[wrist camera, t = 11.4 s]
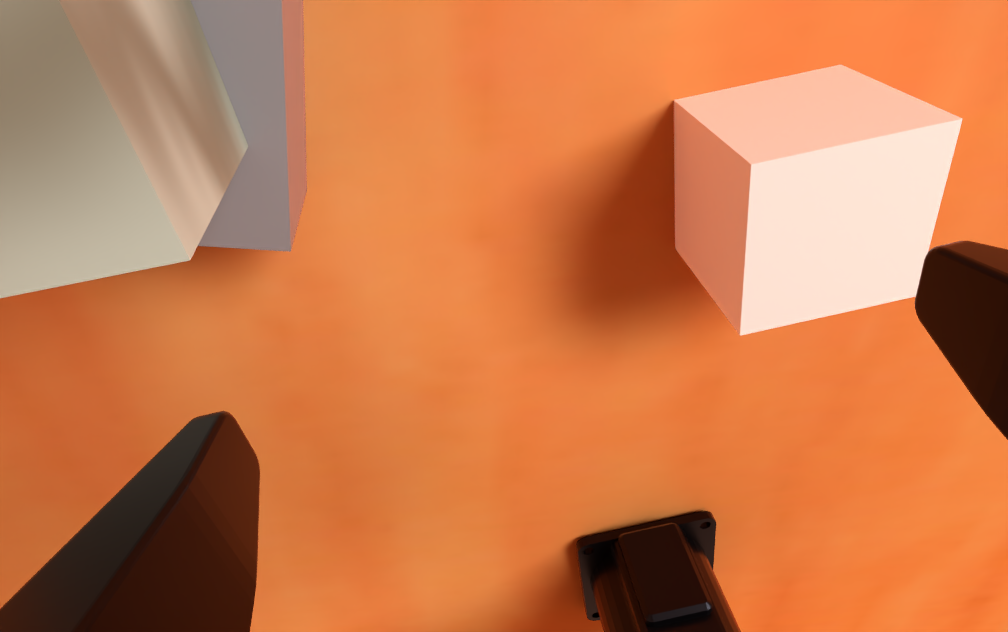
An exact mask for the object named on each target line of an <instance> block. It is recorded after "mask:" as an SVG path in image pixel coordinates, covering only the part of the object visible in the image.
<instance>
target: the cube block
mask: <svg viewBox="0 0 1008 632" xmlns="http://www.w3.org/2000/svg"><path fill="white" fill-rule="evenodd" d="M247 148H248V144H247V141H246V139H245V136H244V134H243V131H242V129H241V126H240V124H239V121H238V119H237V116H236V114H235V111H234V109H233V106H232V104H231V101H230V99H229V96H228V94H227V91H226V89H225V86H224V83H223V81H222V78H221V76H220V73H219V71H218V68H217V66H216V63H215V61H214V58H213V56H212V53H211V51H210V48H209V46H208V43H207V41H206V38H205V36H204V33H203V31H202V28H201V26H200V23H199V20H198V18H197V15H196V13H195V10H194V8H193V5H192V3H191V0H0V298H4V297H9V296H14V295H19V294H24V293H29V292H34V291H39V290H44V289H49V288H54V287H59V286H64V285H69V284H74V283H79V282H84V281H89V280H94V279H99V278H104V277H109V276H114V275H119V274H124V273H129V272H134V271H139V270H144V269H149V268H154V267H159V266H164V265H169V264H174V263H179V262H184V261H189V260H191V258H192V256H193V254H194V252H195V250H196V248H197V246H198V244H199V242H200V240H201V238H202V236H203V234H204V232H205V231H206V229H207V227H208V225H209V223H210V221H211V219H212V217H213V215H214V213H215V211H216V209H217V207H218V205H219V203H220V201H221V199H222V197H223V195H224V193H225V191H226V189H227V187H228V185H229V183H230V181H231V179H232V178H233V176H234V174H235V172H236V170H237V168H238V166H239V164H240V162H241V160H242V158H243V156H244V154H245V152H246V150H247Z"/></svg>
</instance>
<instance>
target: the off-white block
mask: <svg viewBox="0 0 1008 632" xmlns="http://www.w3.org/2000/svg"><path fill="white" fill-rule="evenodd" d="M961 123H962V118H960V117H958V116H955V115H953V114H951V113H949V112H946V111H944V110H942V109H940V108H937V107H935V106H933V105H931V104H928V103H926V102H924V101H922V100H919V99H917V98H915V97H913V96H910V95H908V94H906V93H904V92H901V91H899V90H897V89H895V88H892V87H890V86H888V85H886V84H883V83H881V82H879V81H877V80H874V79H872V78H870V77H868V76H865V75H863V74H861V73H859V72H856V71H854V70H852V69H850V68H847V67H845V66H843V65H836V66H832V67H827V68H822V69H818V70H813V71H808V72H804V73H799V74H794V75H789V76H785V77H780V78H775V79H771V80H766V81H761V82H757V83H752V84H747V85H743V86H738V87H733V88H728V89H724V90H719V91H714V92H710V93H705V94H700V95H696V96H691V97H686V98H681V99H677V100H674V179H675V249H676V250H677V252H678V253H679V254H680V256H681V257H682V258H683V260H684V261H685V262H686V264H687V265H688V266H689V268H690V269H691V270H692V272H693V273H694V275H695V276H696V277H697V279H698V280H699V281H700V283H701V284H702V285H703V287H704V288H705V289H706V291H707V292H708V293H709V295H710V296H711V297H712V299H713V300H714V301H715V303H716V304H717V305H718V307H719V308H720V309H721V311H722V312H723V313H724V315H725V316H726V318H727V319H728V320H729V322H730V323H731V324H732V326H733V327H734V328H735V330H736V331H737V332H738V334H739V335H745V334H749V333H754V332H758V331H763V330H767V329H772V328H776V327H781V326H785V325H790V324H794V323H799V322H803V321H808V320H812V319H817V318H821V317H826V316H830V315H835V314H839V313H844V312H848V311H853V310H857V309H861V308H866V307H870V306H875V305H879V304H884V303H888V302H893V301H897V300H902V299H906V298H911V297H915V296H916V293H917V289H918V285H919V280H920V276H921V272H922V267H923V263H924V259H925V256H926V255H927V253H928V250H929V246H930V242H931V238H932V235H933V231H934V227H935V223H936V219H937V215H938V211H939V208H940V204H941V200H942V196H943V192H944V188H945V184H946V181H947V177H948V173H949V169H950V165H951V161H952V157H953V154H954V150H955V146H956V142H957V138H958V134H959V130H960V127H961Z"/></svg>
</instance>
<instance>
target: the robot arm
mask: <svg viewBox="0 0 1008 632" xmlns="http://www.w3.org/2000/svg"><path fill="white" fill-rule="evenodd" d="M915 309H916V313H917V316H918V318H919V320H920V322H921V323H922V325H923V326H924V327H925V329H926V330H927V332H928V333H929V335H930V336H931V337H932V339H933V340H934V342H935V343H936V345H937V346H938V347H939V349H940V350H941V352H942V353H943V355H944V356H945V357H946V359H947V360H948V362H949V363H950V365H951V366H952V367H953V369H954V370H955V372H956V373H957V375H958V376H959V377H960V379H961V380H962V382H963V383H964V385H965V386H966V387H967V389H968V390H969V392H970V393H971V395H972V396H973V397H974V399H975V400H976V401H977V403H978V404H979V406H980V407H981V408H982V410H983V411H984V412H985V414H986V415H987V416H988V417H989V418H990V420H991V421H992V422H993V423H994V424H995V426H996V427H997V428H998V429H999V430H1000V432H1001V433H1002V434H1003V435H1004V436H1005V437H1006V439H1007V440H1008V250H1007V249H1003V248H998V247H994V246H989V245H985V244H980V243H976V242H971V241H959V242H954V243H950V244H946V245H941V246H937V247H934V248H933V249H931V250H930V251H929V252H928V253H927V255H926V256H925V259H924V263H923V267H922V272H921V276H920V280H919V285H918V289H917V293H916V298H915ZM259 485H260V469H259V463H258V459H257V456H256V454H255V452H254V450H253V448H252V447H251V445H250V443H249V442H248V440H247V438H246V436H245V435H244V433H243V431H242V430H241V428H240V426H239V425H238V423H237V421H236V419H235V418H234V417H233V416H232V415H231V414H230V413H228V412H225V411H221V412H216V413H212V414H208V415H203V416H199V417H196V418H194V419H192V420H191V421H190V422H189V423H188V424H187V425H186V426H185V427H184V428H183V429H182V430H181V431H180V432H179V433H178V434H177V435H176V436H175V437H174V438H173V439H172V440H171V441H170V442H169V443H168V444H167V445H166V446H165V447H164V448H163V449H162V450H161V451H160V452H159V453H158V454H157V455H156V456H155V457H154V458H153V459H152V460H150V461H149V462H148V463H147V464H146V465H145V466H144V467H143V468H142V469H141V470H140V471H139V472H138V473H137V474H136V475H135V476H134V477H133V478H132V479H131V480H130V481H129V482H128V483H127V484H126V485H125V486H124V487H123V488H122V489H121V490H120V491H119V492H118V493H117V494H116V495H115V496H114V497H113V498H112V499H111V500H110V501H109V502H108V503H107V504H106V505H105V506H104V507H103V508H102V509H101V510H100V511H99V512H98V513H97V514H96V515H95V516H94V517H93V518H92V519H91V520H90V521H89V522H88V523H87V524H86V525H85V526H84V527H83V528H82V529H81V530H80V531H79V532H78V533H77V534H76V535H75V536H74V537H73V538H72V539H70V540H69V541H68V542H67V543H66V544H65V545H64V546H63V547H62V548H61V549H60V550H59V551H58V552H57V553H56V554H55V555H54V556H53V557H52V558H51V559H50V560H49V561H48V562H47V563H46V564H45V565H44V566H43V567H42V568H41V569H40V570H39V571H38V572H37V573H36V574H35V575H34V576H33V577H32V578H31V579H30V580H29V581H28V582H27V583H26V584H25V585H24V586H23V587H22V588H21V589H20V590H19V591H18V592H17V593H16V594H15V595H14V596H13V597H12V598H11V599H10V600H9V601H8V602H7V603H6V604H5V605H4V606H3V607H2V608H1V609H0V632H250V626H251V619H252V612H253V605H254V597H255V589H256V578H257V556H258V521H259ZM715 531H716V521H715V519H714V517H713V515H712V513H711V512H708V511H703V512H698V513H693V514H689V515H684V516H680V517H675V518H671V519H666V520H662V521H657V522H653V523H648V524H644V525H639V526H635V527H630V528H626V529H621V530H617V531H612V532H608V533H603V534H599V535H594V536H590V537H585V538H582V539H581V540H579V541H578V542H577V543H576V550H577V557H578V564H579V570H580V577H581V584H582V591H583V597H584V604H585V610H586V614H587V618H588V619H589V620H593V621H595V620H601V623H602V627H603V630H604V632H741V631H740V629H739V627H738V624H737V622H736V620H735V618H734V616H733V613H732V611H731V609H730V607H729V605H728V602H727V600H726V598H725V596H724V594H723V592H722V589H721V587H720V585H719V583H718V581H717V578H716V576H715V574H714V572H713V562H714V547H715Z"/></svg>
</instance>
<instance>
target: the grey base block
mask: <svg viewBox="0 0 1008 632" xmlns="http://www.w3.org/2000/svg"><path fill="white" fill-rule="evenodd" d="M191 3H192V5H193V8H194V10H195V13H196V15H197V18H198V20H199V23H200V26H201V28H202V31H203V33H204V36H205V38H206V41H207V43H208V46H209V48H210V51H211V53H212V56H213V58H214V61H215V63H216V66H217V68H218V71H219V73H220V76H221V78H222V81H223V83H224V86H225V89H226V91H227V94H228V96H229V99H230V101H231V104H232V106H233V109H234V111H235V114H236V116H237V119H238V121H239V124H240V126H241V129H242V131H243V134H244V136H245V139H246V141H247V144H248V148H247V150H246V152H245V154H244V156H243V158H242V160H241V162H240V164H239V166H238V168H237V170H236V172H235V174H234V176H233V178H232V179H231V181H230V183H229V185H228V187H227V189H226V191H225V193H224V195H223V197H222V199H221V201H220V203H219V205H218V207H217V209H216V211H215V213H214V215H213V217H212V219H211V221H210V223H209V225H208V227H207V229H206V231H205V232H204V234H203V236H202V238H201V240H200V242H199V244H198V246H209V247H225V248H242V249H258V250H275V251H291V249H292V245H293V241H294V237H295V234H296V230H297V226H298V222H299V218H300V214H301V210H302V207H303V203H304V199H305V195H306V191H307V178H306V128H305V78H304V28H303V0H191Z"/></svg>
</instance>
